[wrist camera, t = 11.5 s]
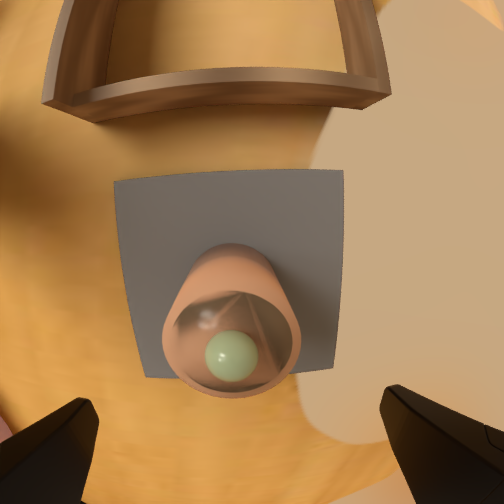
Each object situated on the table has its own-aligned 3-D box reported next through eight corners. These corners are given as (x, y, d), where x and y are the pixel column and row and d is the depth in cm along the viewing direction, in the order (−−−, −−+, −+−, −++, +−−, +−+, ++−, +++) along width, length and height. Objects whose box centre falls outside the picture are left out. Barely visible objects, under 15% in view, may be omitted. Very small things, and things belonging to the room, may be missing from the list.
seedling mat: (147, 373, 19) (145, 377, 19) (116, 181, 16) (113, 181, 16) (331, 364, 20) (333, 368, 19) (340, 170, 17) (343, 170, 16)
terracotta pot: (192, 328, 18) (168, 422, 10) (183, 245, 17) (138, 300, 8) (276, 324, 18) (305, 417, 10) (276, 241, 17) (315, 292, 9)
